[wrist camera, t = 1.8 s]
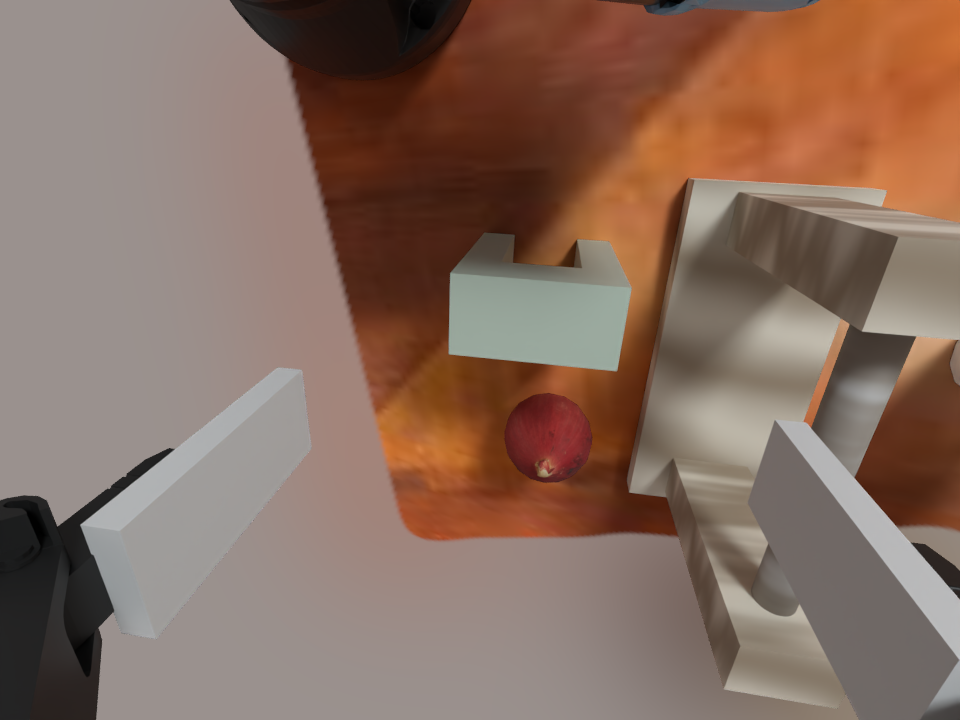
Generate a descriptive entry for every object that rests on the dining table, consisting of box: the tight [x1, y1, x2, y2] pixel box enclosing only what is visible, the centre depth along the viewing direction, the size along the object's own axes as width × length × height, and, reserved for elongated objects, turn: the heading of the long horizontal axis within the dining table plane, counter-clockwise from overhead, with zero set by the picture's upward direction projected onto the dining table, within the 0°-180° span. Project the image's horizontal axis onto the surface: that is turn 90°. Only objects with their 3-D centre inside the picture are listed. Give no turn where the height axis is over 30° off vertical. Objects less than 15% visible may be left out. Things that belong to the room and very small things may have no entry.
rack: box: [627, 178, 960, 709], centre depth 26 cm, size 22×10×16 cm, turn 177°
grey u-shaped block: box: [449, 233, 632, 371], centre depth 28 cm, size 4×8×11 cm, turn 87°
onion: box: [505, 393, 592, 482], centre depth 33 cm, size 6×6×8 cm
